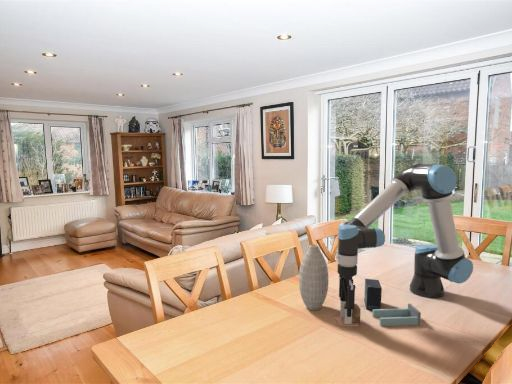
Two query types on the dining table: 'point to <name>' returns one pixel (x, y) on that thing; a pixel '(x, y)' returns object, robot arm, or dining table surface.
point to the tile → (341, 322)
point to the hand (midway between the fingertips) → (345, 320)
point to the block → (354, 314)
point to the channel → (398, 316)
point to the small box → (372, 294)
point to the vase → (313, 278)
